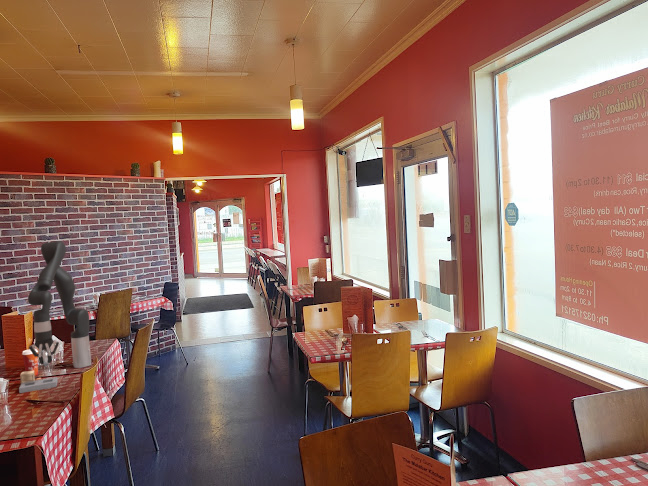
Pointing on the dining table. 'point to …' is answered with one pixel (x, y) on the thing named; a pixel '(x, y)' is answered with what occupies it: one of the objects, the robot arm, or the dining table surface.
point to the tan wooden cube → (27, 376)
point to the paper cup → (30, 361)
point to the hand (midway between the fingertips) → (45, 363)
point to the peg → (45, 358)
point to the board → (38, 385)
